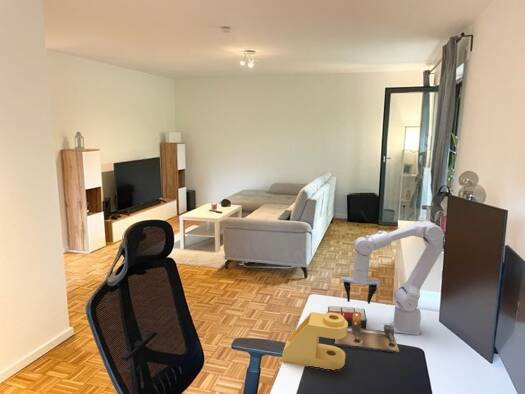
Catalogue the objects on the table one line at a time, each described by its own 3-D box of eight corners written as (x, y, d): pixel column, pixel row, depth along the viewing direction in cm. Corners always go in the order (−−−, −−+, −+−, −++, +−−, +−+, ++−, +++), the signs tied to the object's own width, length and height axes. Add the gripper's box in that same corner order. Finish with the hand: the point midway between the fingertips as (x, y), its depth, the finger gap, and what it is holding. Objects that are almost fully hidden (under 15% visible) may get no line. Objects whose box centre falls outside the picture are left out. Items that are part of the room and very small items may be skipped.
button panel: (328, 304, 160) (364, 307, 158) (327, 314, 161) (364, 316, 158) (327, 316, 150) (367, 319, 147) (327, 326, 150) (366, 329, 148)
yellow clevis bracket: (345, 357, 128) (348, 313, 125) (343, 373, 119) (347, 326, 117) (287, 346, 133) (289, 304, 130) (282, 361, 124) (284, 316, 122)
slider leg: (359, 329, 144) (360, 311, 143) (361, 341, 135) (363, 322, 134) (351, 328, 144) (352, 311, 143) (353, 340, 136) (354, 321, 135)
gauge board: (391, 334, 144) (393, 323, 143) (398, 353, 131) (400, 341, 131) (333, 328, 147) (334, 317, 146) (334, 346, 134) (335, 334, 134)
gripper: (379, 266, 148) (376, 299, 150) (341, 263, 150) (339, 295, 152) (381, 273, 141) (378, 307, 144) (342, 269, 143) (339, 303, 146)
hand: (358, 301), depth 148 cm, fingers open, 7 cm apart
